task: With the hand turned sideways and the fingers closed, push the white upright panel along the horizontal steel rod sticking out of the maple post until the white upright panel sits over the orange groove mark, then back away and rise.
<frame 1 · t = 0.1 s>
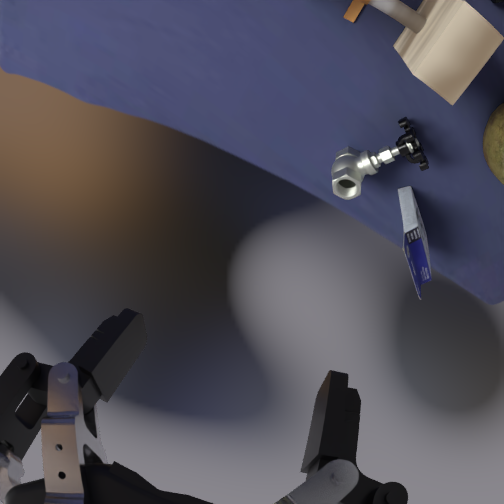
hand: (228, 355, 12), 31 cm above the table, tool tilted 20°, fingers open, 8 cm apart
valve: (373, 145, 35), on the table
ink box: (414, 213, 40), on the table
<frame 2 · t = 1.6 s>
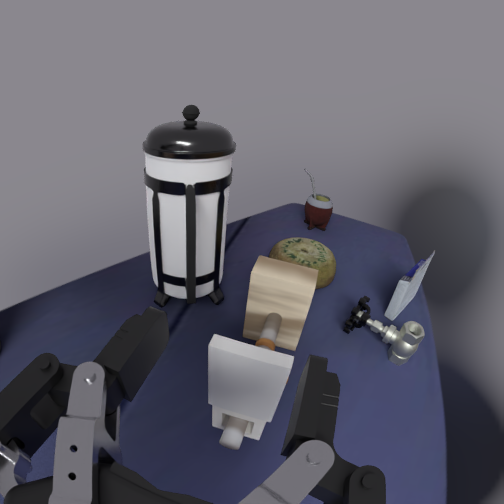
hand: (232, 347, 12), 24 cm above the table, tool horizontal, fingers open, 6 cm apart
white upright panel: (247, 387, 25), point 10 cm above the table, slide at 0.0 cm
weight: (300, 271, 60), on the table
valve: (377, 346, 44), on the table
ink box: (399, 306, 53), on the table
mate gourd: (312, 226, 77), on the table
rod stand: (255, 381, 37), on the table
coffee press: (190, 290, 51), on the table
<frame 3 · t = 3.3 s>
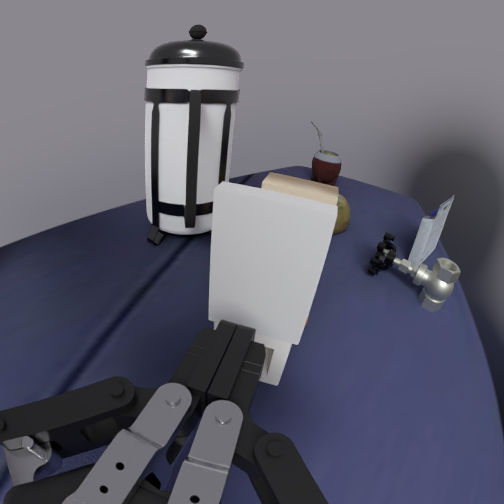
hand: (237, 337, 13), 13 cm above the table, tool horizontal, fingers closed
white upright panel: (264, 291, 19), point 10 cm above the table, slide at 0.0 cm
weight: (311, 219, 54), on the table
valve: (405, 292, 38), on the table
ink box: (420, 256, 47), on the table
mate gourd: (320, 184, 71), on the table
rod stand: (268, 321, 31), on the table
coffee press: (189, 231, 45), on the table
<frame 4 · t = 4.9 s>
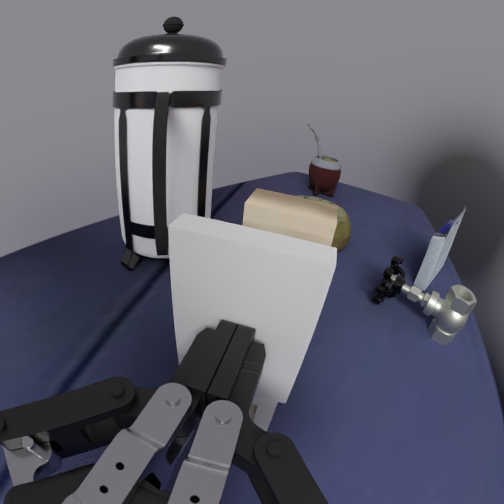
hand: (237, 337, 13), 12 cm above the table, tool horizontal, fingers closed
white upright panel: (244, 341, 16), point 10 cm above the table, slide at 1.7 cm, touching gripper
weight: (307, 234, 49), on the table
valve: (414, 321, 33), on the table
ink box: (427, 275, 42), on the table
mate gourd: (318, 193, 66), on the table
rod stand: (252, 366, 26), on the table
coffee press: (168, 252, 40), on the table
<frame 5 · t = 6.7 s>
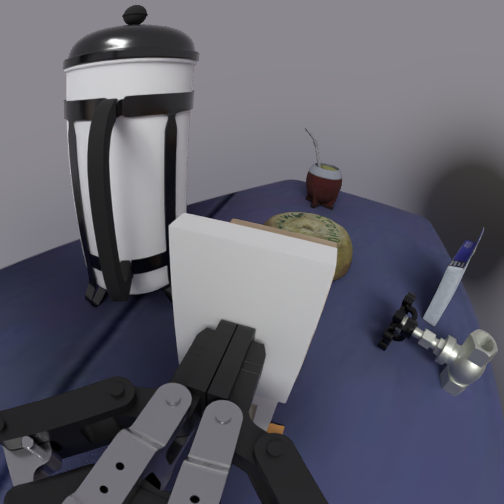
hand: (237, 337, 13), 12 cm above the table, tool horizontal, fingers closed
white upright panel: (245, 340, 16), point 10 cm above the table, slide at 9.1 cm, touching gripper
weight: (302, 257, 43), on the table
valve: (424, 368, 27), on the table
ink box: (438, 305, 36), on the table
mate gourd: (317, 204, 59), on the table
rod stand: (227, 435, 20), on the table
coffee press: (140, 283, 34), on the table
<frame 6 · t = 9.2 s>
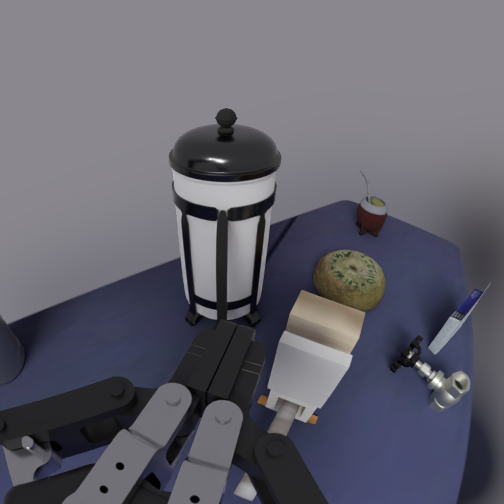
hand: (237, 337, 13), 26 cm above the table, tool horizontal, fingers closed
white upright panel: (304, 375, 28), point 10 cm above the table, slide at 9.1 cm
weight: (346, 287, 53), on the table
valve: (420, 387, 37), on the table
ink box: (444, 336, 44), on the table
mate gourd: (364, 231, 68), on the table
rod stand: (283, 419, 33), on the table
coffee press: (225, 306, 48), on the table
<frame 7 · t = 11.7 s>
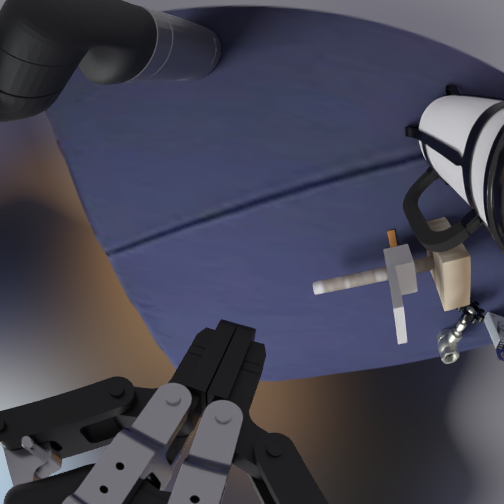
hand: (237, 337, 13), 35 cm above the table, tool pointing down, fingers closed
white upright panel: (404, 288, 37), point 10 cm above the table, slide at 9.1 cm
valve: (453, 319, 48), on the table
ink box: (501, 319, 44), on the table
rod stand: (386, 253, 46), on the table
coffee press: (446, 142, 34), on the table
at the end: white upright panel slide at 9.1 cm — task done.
